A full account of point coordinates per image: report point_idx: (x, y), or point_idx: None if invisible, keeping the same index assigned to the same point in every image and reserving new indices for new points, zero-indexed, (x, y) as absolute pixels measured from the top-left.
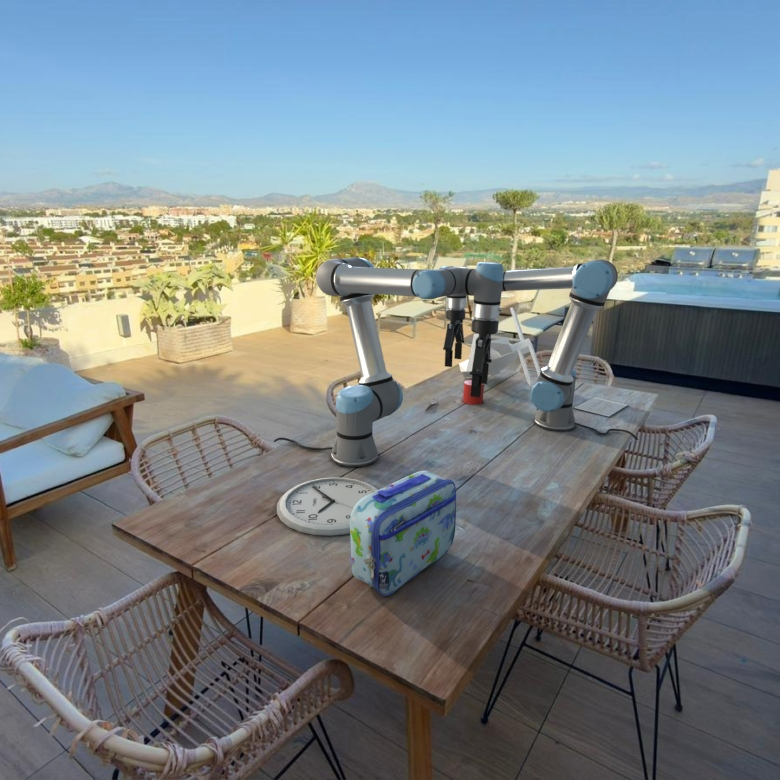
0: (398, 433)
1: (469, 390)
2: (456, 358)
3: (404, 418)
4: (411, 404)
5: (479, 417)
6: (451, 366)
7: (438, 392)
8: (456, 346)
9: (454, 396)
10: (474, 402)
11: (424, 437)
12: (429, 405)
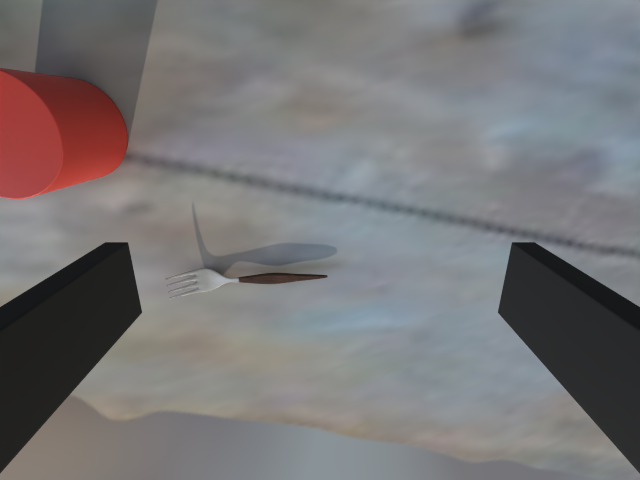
0: None
1: (85, 146)
2: (135, 293)
3: (419, 318)
4: (262, 345)
5: (283, 38)
6: (538, 245)
7: None
8: (26, 414)
9: (65, 228)
10: (114, 111)
11: (591, 196)
12: (263, 282)
